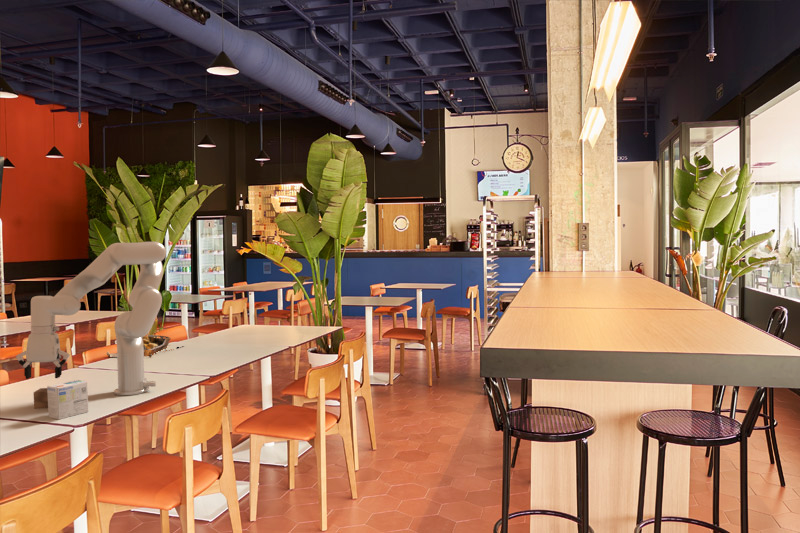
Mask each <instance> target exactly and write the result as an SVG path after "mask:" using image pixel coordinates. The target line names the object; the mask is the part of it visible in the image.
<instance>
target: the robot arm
mask: <svg viewBox="0 0 800 533" xmlns="http://www.w3.org/2000/svg"><path fill="white" fill-rule="evenodd" d="M166 254H167V250H166V247H165V245H163V243H160V242H158V241H142V242H141V241H140V242H115V243H112V244H110V245H109V246H108V247H106V248H105V249H104V250H103V251H102V252H101V253H100V254H99V255H98V256H97V257H96V258H95V259H94V260H93V261H92V262H90V263H89V265H88V266H87V267H86V268H85V269H84V270H82V271H81V272H79V273H78V275H76V276H75V277H73V278H71V280H70V281H69V282H68V283H67V282H66V284H65V285H64V286H63V287H62V288H61V289H60V290H59V291H58V292H57V293H56V294H55V295H54V296H52V295H36V296H33V297H32V298H31V300H30V334H28V337H27V342H26V348H25V349H26V350H24V351H23V352H21V353H19V354H17V355H15V358H16V359H17V361H18V363H19V364H20V365H21V366H22V369H24V370H23V372H24V373H23V375H24V377H25V380H28V379H31V378H32V366H31V365H32V363H53V364H54V365H55V367H54V378H55V379H59V378H60V377H61V375H62V366H63V365H65V363H67V361H68V360H69V358H70V355H71V354H70V353H68V352H66V351H64V350H61V346H60V345H61V344H60V337H59V334H58V333H57V331H58V332H59V331H60V326H57V325H56V316H67V317H68V316H73V315H75V314H77V313H79V311H80V310H81V306H82V305H81V299H82V298H83V297H85V295H87V294H88V293H89V292H91V291H93V290H94V289H97V288H100V287H101V286H103V285H105V284H106V282H108V281H109V280H110V279H111V277H112V276H114V275H115V273H117V271H118V270H119V269H120V268H122V266H136V265H140V271H139V274H138V277H137V280H136V282H135V283H134V286H133V288H132V290H131V292H130V294H129V296H128V304H129V306H131V307H132V308H131V311H124V312H122V313H120V314H118V316H117V317H116V319H115V320H114V333H115V339H116V352H117V357H116V360H117V365H116V366H117V388H116V389H114V390H113V393H114V395H117V396H134V395H140V394H144V393H146V392H148V391H149V390H150V387H151V388H153V387H157V382H156V381H154V380H152V381H151V380H150V381H148V380H147V377H145V356H144V347H143V339H142V337H144V336H145V335H149V332H150V331H151V329H152V327H153V325H154V323H155V321H156V319H157V316H158V315H159V314H158V313H159V312H160V309H161V307H162V302H163V297H162V293H161V291H159V286H160V284H161V282H162V279H163V275H164V267H163V263H162V261H163V260H165V257H166ZM24 356H25V359H24ZM61 356H62V357H63V358H62V360H60V359H61Z"/></svg>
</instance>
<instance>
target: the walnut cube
mask: <svg viewBox="0 0 800 533" xmlns="http://www.w3.org/2000/svg"><path fill="white" fill-rule="evenodd" d="M33 408H34V409H35V410H37V409H48V393H47V387H43V388H42V387H41V388H39V389H37V390H35V391H33Z"/></svg>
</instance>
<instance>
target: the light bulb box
mask: <svg viewBox="0 0 800 533" xmlns="http://www.w3.org/2000/svg"><path fill="white" fill-rule="evenodd" d="M46 388H47V393H48V408H47V410H48V417H49V418H50V419H54V420H55V419H56V420H62V419H66V418H69V417H70V418H71V417H73V416H77V415H82V414H84V413H88V412H89V395H88V393H89V392H88V381H85V380H79V379H74V380H71V381H67V382H61V383H56V384H51V385H47V386H46Z"/></svg>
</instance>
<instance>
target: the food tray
mask: <svg viewBox="0 0 800 533" xmlns="http://www.w3.org/2000/svg"><path fill="white" fill-rule="evenodd" d="M142 339H143V347H144V357H149V358H151V357H152V356H155V355H157V353H156V352H158V351H161V350H163V349H166V348H167V346H169V343H170V341H171V337H169V336H165V335H158V334H150V335H149V334H147V335H145V336H144V337H142ZM171 350H172V349H171ZM172 351H173V350H172ZM165 352H168V351H167V350H166V351H165ZM154 353H155V354H154ZM151 354H152V355H151ZM106 355H107V357H109V358H117V353H116V352H115V353H110V352H109V351H106ZM152 358H153V357H152Z"/></svg>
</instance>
